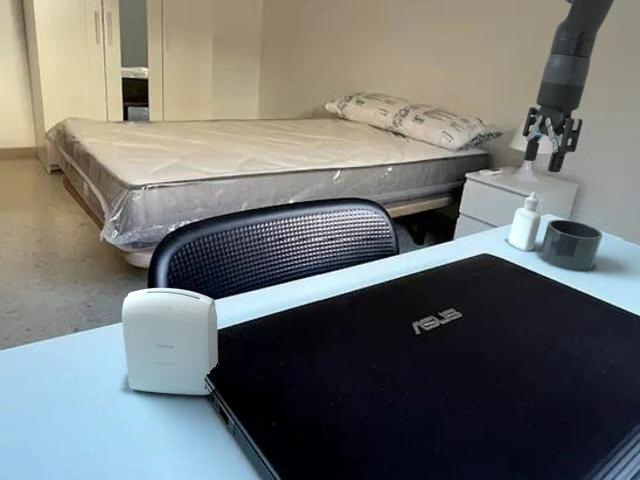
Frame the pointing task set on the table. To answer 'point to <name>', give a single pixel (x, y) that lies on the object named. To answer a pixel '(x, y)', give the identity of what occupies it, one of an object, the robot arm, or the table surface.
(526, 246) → the eye dropper bottle
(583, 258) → the desk tube
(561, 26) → the robot arm
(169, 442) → the table surface
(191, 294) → the photo printer
